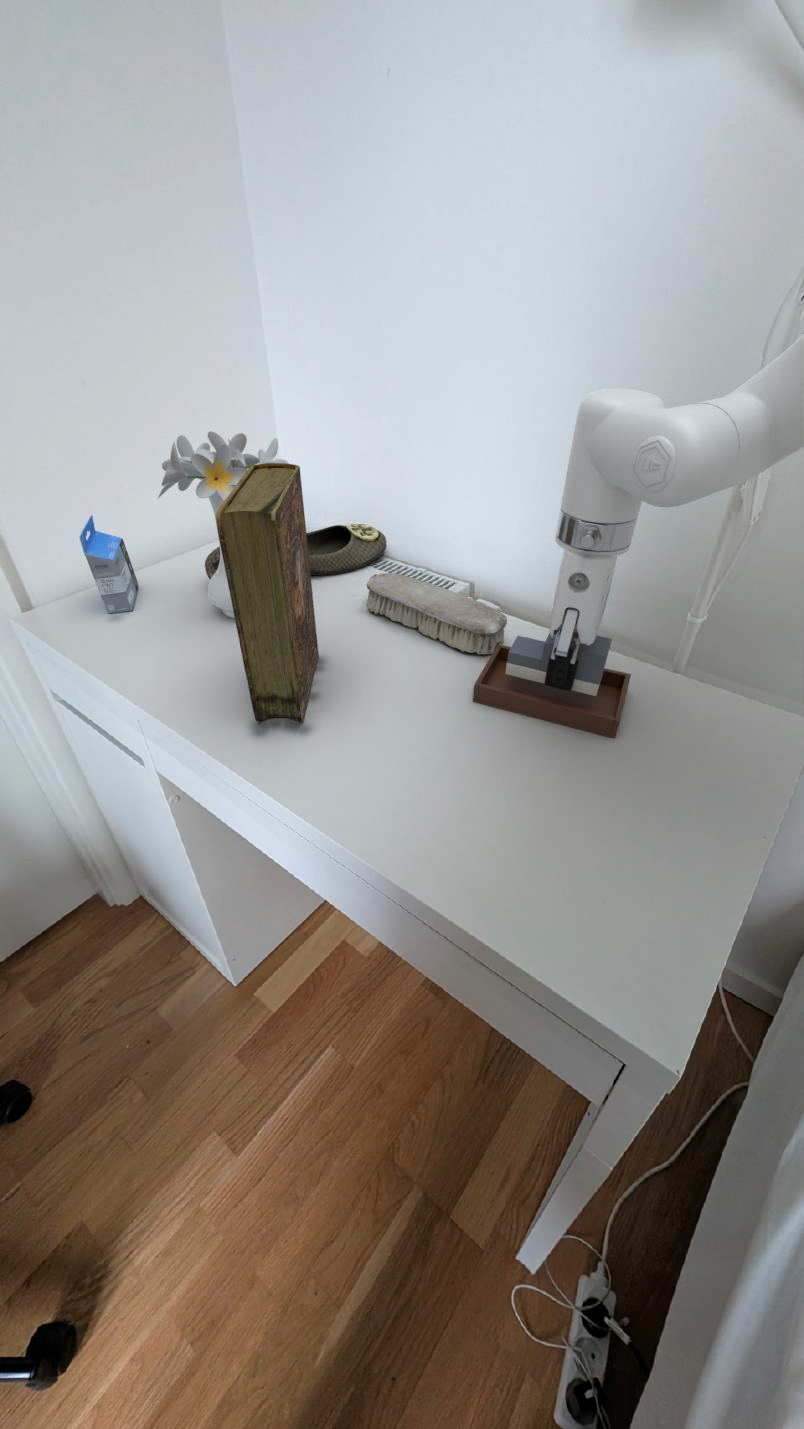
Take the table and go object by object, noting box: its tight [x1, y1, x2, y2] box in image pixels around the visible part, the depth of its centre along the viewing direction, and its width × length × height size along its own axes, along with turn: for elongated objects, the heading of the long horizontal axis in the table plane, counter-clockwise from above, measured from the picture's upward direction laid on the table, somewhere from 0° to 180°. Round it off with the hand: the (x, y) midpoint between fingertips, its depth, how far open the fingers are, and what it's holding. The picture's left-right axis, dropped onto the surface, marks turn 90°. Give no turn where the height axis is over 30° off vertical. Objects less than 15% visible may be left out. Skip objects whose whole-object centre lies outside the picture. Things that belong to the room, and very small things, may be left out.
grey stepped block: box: [505, 630, 613, 696], centre depth 69 cm, size 11×4×6 cm, turn 66°
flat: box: [204, 522, 388, 580], centre depth 99 cm, size 11×33×8 cm, turn 117°
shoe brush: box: [366, 572, 508, 655], centre depth 85 cm, size 24×8×5 cm, turn 51°
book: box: [215, 463, 320, 723], centre depth 66 cm, size 16×6×25 cm, turn 179°
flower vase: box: [157, 430, 290, 619], centre depth 83 cm, size 13×18×25 cm
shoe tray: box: [472, 644, 632, 739], centre depth 72 cm, size 17×10×3 cm, turn 66°
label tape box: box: [79, 514, 139, 614], centre depth 88 cm, size 9×4×12 cm, turn 13°
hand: (562, 674), depth 70 cm, fingers closed on grey stepped block, 4 cm apart
